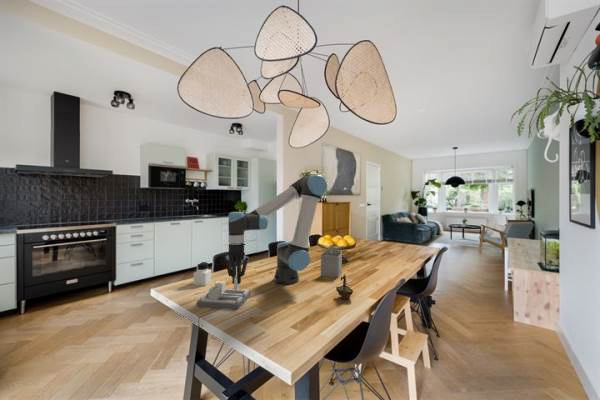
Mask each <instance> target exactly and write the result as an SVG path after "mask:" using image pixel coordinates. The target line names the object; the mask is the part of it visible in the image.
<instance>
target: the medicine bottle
mask: <svg viewBox="0 0 600 400" xmlns="http://www.w3.org/2000/svg"><path fill="white" fill-rule="evenodd" d="M211 282H212V269H209V263H208V262H207V261H201V262H198V263H196V271H194V272H193V286H199V287H200V286H203V287H204V286H205V287H206V286H207V285H208V284H210V283H211Z"/></svg>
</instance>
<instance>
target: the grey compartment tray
mask: <svg viewBox="0 0 600 400" xmlns="http://www.w3.org/2000/svg"><path fill="white" fill-rule="evenodd" d="M250 296H251V291H250V290H249V289H239V290H238V291H234V288H233V289H232V288H226V291H225V292H224V293H221V298H220V299H219V300H211V299H209V292H207V293H205V294H203V295H201V296H200V297H199V300H197V301H196V307H201V308H215V309H227V310H239V309H240V308H242V306H243V305H244V303H245V302H246V301H247V300H248V299H249V298H250Z"/></svg>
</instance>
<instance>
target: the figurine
mask: <svg viewBox="0 0 600 400" xmlns="http://www.w3.org/2000/svg"><path fill="white" fill-rule="evenodd" d="M340 281H343V282H342V285H340V286H336V287H335V291H336V292H337V294H338V296H340V298H342V299H349V298H351V296H352V295H353V293H354V290H353V289H352V288H351V287H349V286H348V282H347V276H346V274H343V276H340Z"/></svg>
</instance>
